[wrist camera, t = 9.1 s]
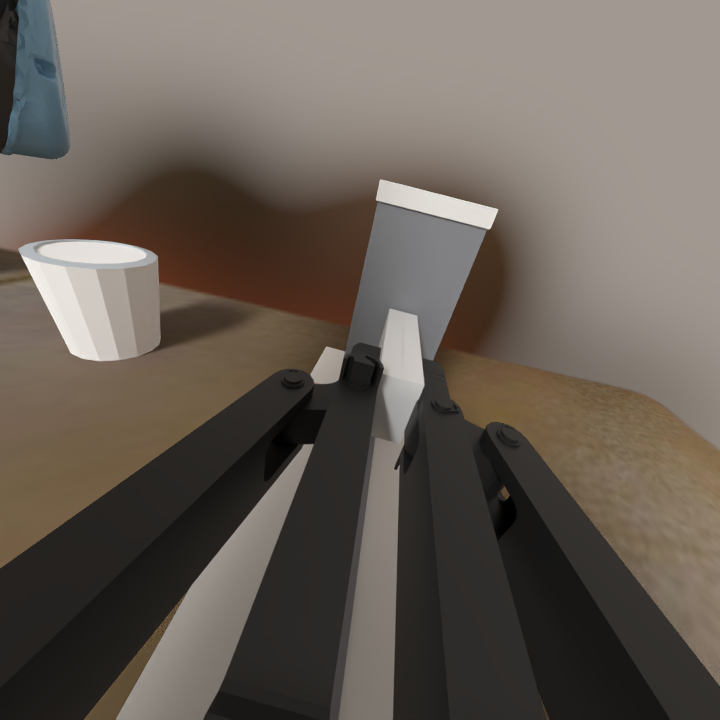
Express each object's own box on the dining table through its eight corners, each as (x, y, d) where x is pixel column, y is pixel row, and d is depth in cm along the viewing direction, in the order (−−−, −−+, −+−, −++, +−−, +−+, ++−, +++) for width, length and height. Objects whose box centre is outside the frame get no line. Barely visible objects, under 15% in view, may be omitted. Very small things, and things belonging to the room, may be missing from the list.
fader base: (548, 1462, 4) (630, 1633, 3) (-142, 1236, 4) (-242, 1343, 3) (425, 387, 26) (431, 373, 26) (323, 360, 26) (326, 345, 26)
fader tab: (408, 426, 18) (498, 209, 12) (331, 405, 18) (380, 179, 12) (407, 397, 21) (480, 208, 15) (341, 379, 21) (384, 184, 15)
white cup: (51, 373, 18) (5, 264, 14) (59, 326, 22) (25, 232, 19) (176, 357, 22) (164, 269, 19) (163, 320, 26) (151, 242, 23)
